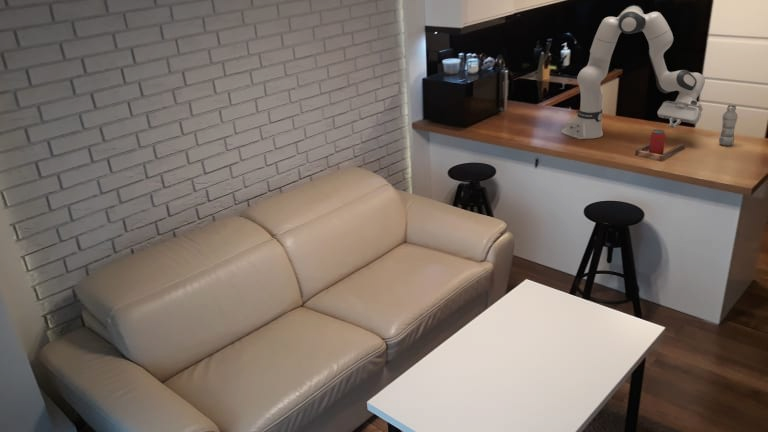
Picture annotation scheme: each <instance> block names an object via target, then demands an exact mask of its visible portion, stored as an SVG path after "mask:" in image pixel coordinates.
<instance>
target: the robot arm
mask: <svg viewBox="0 0 768 432" xmlns="http://www.w3.org/2000/svg"><path fill="white" fill-rule="evenodd" d="M641 32H643V34H644V36H645V38H646V40H647V42H648V48H649V49H648V55H649V57H648V58H649V59H650V63H651V66H652V69H653V71H654V72H653V73H654V76H655V81H656V82H655V84H656V87H657V89H658V90H659V91H660V92H661V93H664V94H668V93H672V92H676V91H678V95H677V97H676V99H675V100H674V101H671V100H665V101H663V102H662V104H661V106H660V107H659V108H658V110H657V112H656V113H657V116H658V117H659V118H662V119H668V120H669V124H668V126H669V128H673V129H676V128H677V126H678V125H680V124H681V123H682V122H683V123H686V124H687V123H688V124H693V125H697V124H698V122H699V121H700V119H701V116H702V112H703V110H704V109H703V107H702V104H701V102H699V101H697V98H698V97H699V96H700V95H701V93H702V91H703V89H704V86H705V82H706V79H705V78H706V77H705V76H704V75H702V74H701V73H700V72H691V71H689V70H687V69H681V70H676V71H669V70H668V68H667V65H666V63H665V58H664V54H665V52H666V51H667V50H668V49H670V47H671V46H673V45H672V44H673V42H674V36H673V32H672V30H671V27H670V26H669V24H668V22H667V20H666V19H665V17H664V16H663V15H662V13H661V12H658V11H652V12H651V11H650V12H649V13H646V14H645V13H644V10H643V8H642V7H641V6H639V5H636V4H632V5H629V6H628V7H627V6H626V7H625V9H624V10H622V11H621V12H620V13H619V14H618V15H617V17H616V16H607V17H605V18H603V19H602V20H601V23H600V24H599V27H598V28H597V31H596V34H595V35H594V37H593V41H592V44H591V47H590V49H589V53H590V54H589V59H588V62H587V65H586V66H584V67H583V68H582V69H581V70H580V71H579V73H578V75H577V79H576V81H577V84H578V85H579V91H580V106H579V107H580V108H579V109H577V110H576V111H575V114H576V115H575V116H574V117H572V118H571V119H569V120H568V121H567V122H566V125H565V128H563V129H562V130H561V134H564V135H566V136H569V137H572V138H575V139H578V140H586V139H597V138H601V137H603V135H604V133H603V126H602V119H603V109H602V108H603V93H602V91H601V90H602V89H601V83H602V81H603V80H604V79H605V78H606V77H607V75H608V72H609V68H610V63H611V60H612V55H613V53H614V50H615V47H616V45H617V42H618V40H619V39H618V38H619V37H620V35H621V33H623V34H625V35H630V34H636V33H641ZM674 121H675V122H674Z"/></svg>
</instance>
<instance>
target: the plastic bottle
mask: <svg viewBox="0 0 768 432" xmlns="http://www.w3.org/2000/svg"><path fill="white" fill-rule="evenodd" d="M736 110H737V105H735V104H729V105H727V108H726V111H724V113H723V115H722V128H721V131H720V135H719V137H718V143H719V144H720V145H721V146H732V145H733V144H734V142H735V127H736V125H737V120H738V113H737V112H736Z"/></svg>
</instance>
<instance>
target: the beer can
mask: <svg viewBox="0 0 768 432" xmlns="http://www.w3.org/2000/svg"><path fill="white" fill-rule="evenodd" d="M665 141H666V133H665V130H663V129H653V130H652V132H651V134H650V140H649V143H650V148H649V150H648V152H650V153H655V154H659V155H662V154H664V149H665Z"/></svg>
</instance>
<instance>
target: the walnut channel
mask: <svg viewBox="0 0 768 432" xmlns="http://www.w3.org/2000/svg"><path fill="white" fill-rule="evenodd" d="M685 145H686V144H685V143H680V144H677V145H676V146H675V147H672V148H671V149H669V150H668V151H666V152H663V154H662V155H659V154H655V153H650V152H649V148H650V142H649V143H647V144H645V145H643V146H641V147H640V148H638V149H636V150H635V156H637V157H642V158H646V159H650V160H655V161H659V162H664V161H666V160H667V159H669V158H670V157H672V156H674V155H676V154H678V153H679V152H681V151H683V150H684V149H685Z"/></svg>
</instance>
